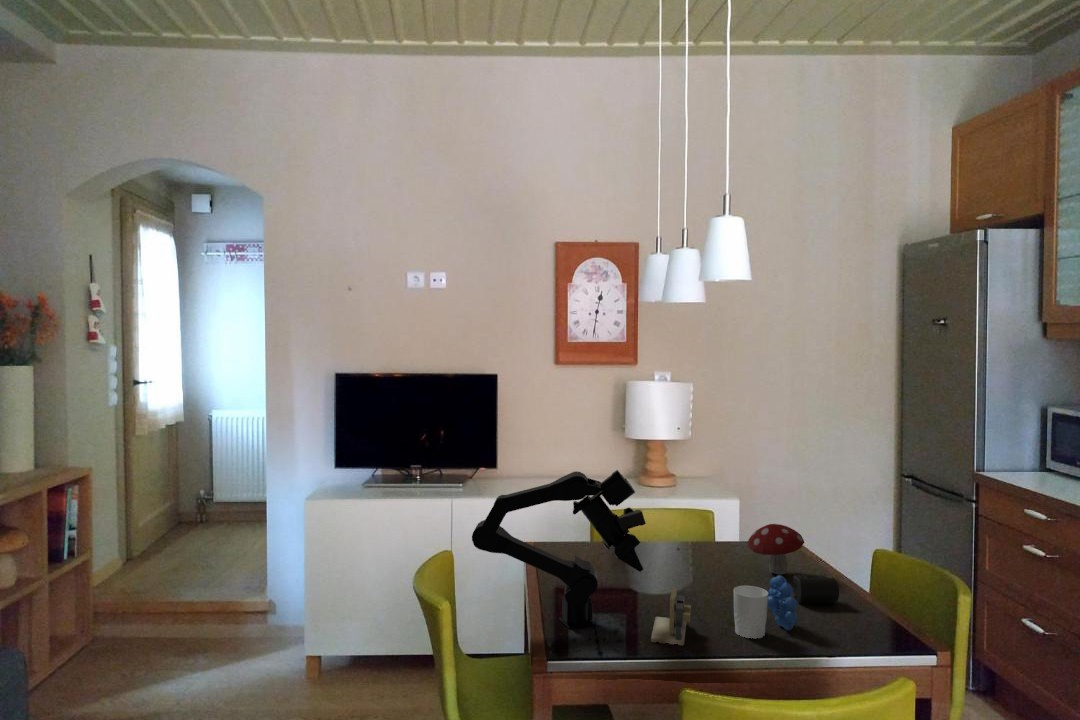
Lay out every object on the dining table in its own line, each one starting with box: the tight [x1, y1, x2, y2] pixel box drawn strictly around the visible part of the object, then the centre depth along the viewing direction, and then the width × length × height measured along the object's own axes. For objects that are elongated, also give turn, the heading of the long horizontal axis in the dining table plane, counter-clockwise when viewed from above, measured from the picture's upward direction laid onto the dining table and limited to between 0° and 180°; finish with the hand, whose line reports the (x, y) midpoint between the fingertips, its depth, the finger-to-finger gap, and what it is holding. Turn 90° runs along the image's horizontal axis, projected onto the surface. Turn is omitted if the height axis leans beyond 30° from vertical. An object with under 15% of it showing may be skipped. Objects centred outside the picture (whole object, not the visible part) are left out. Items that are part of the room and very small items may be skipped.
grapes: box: [767, 574, 799, 631], centre depth 176 cm, size 12×7×12 cm, turn 11°
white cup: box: [733, 585, 769, 640], centre depth 172 cm, size 8×8×10 cm
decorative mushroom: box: [747, 523, 805, 575], centre depth 215 cm, size 16×16×15 cm
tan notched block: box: [669, 587, 692, 634], centre depth 171 cm, size 4×8×8 cm, turn 166°
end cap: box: [792, 574, 840, 605], centre depth 193 cm, size 10×7×7 cm
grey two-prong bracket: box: [674, 595, 685, 640], centre depth 171 cm, size 2×12×6 cm, turn 166°
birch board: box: [650, 616, 687, 646], centre depth 172 cm, size 7×13×1 cm, turn 166°
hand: (641, 570), depth 175 cm, fingers closed
